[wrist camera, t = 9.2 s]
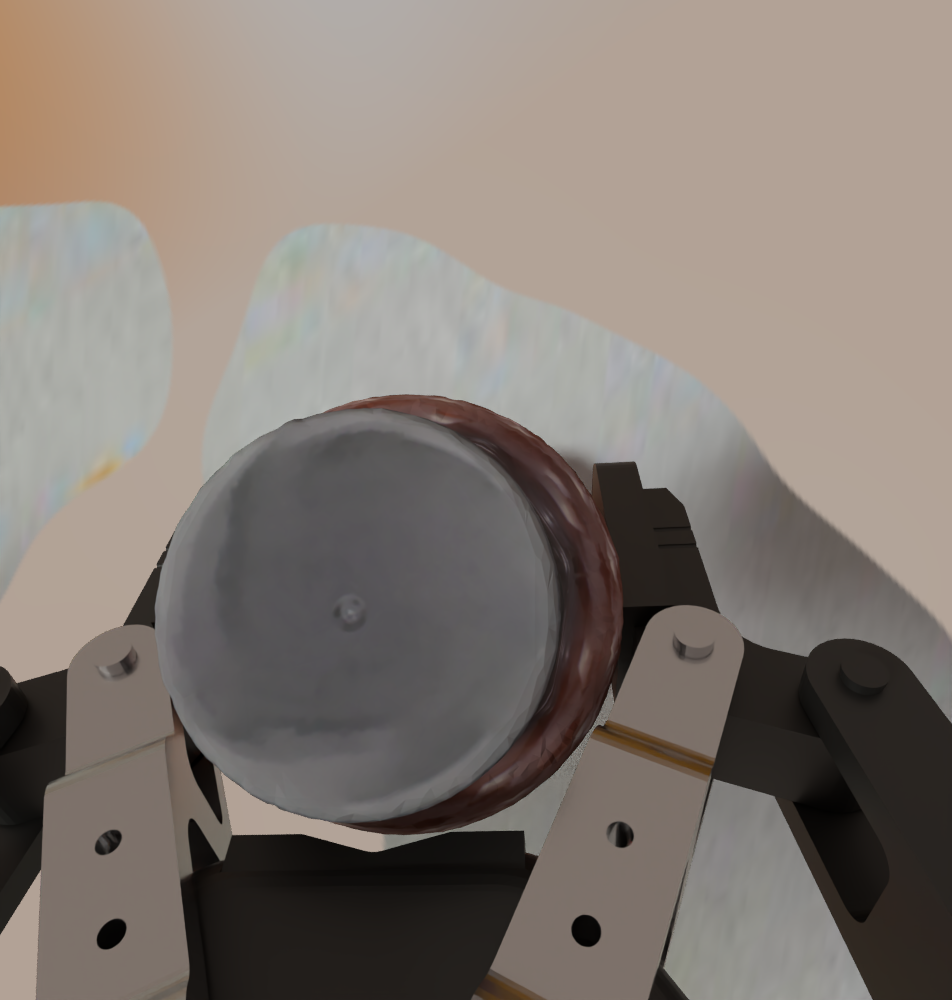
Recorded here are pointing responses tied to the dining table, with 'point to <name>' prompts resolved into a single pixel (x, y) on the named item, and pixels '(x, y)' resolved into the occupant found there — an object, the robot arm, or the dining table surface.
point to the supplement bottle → (391, 615)
